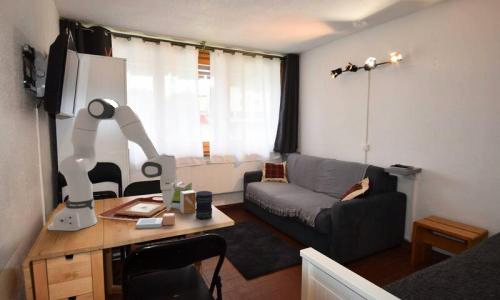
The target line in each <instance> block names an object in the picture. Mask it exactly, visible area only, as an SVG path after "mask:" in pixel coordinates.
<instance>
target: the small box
mask: <svg viewBox="0 0 500 300" xmlns="http://www.w3.org/2000/svg"><path fill="white" fill-rule="evenodd" d="M179 211H180V213H182V214H183V215H185V214H190V213H196V191H195V190H193V189H192V190H189V191H182V192H180V208H179Z"/></svg>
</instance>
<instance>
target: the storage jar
mask: <svg viewBox="0 0 500 300" xmlns="http://www.w3.org/2000/svg"><path fill="white" fill-rule="evenodd" d="M195 192H196V191H195ZM212 204H213V192H212V191H209V190H200V191H197V192H196V212H195V219H196V220H199V221H208V220H211V219H212V218H213V207H212V206H213V205H212Z"/></svg>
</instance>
